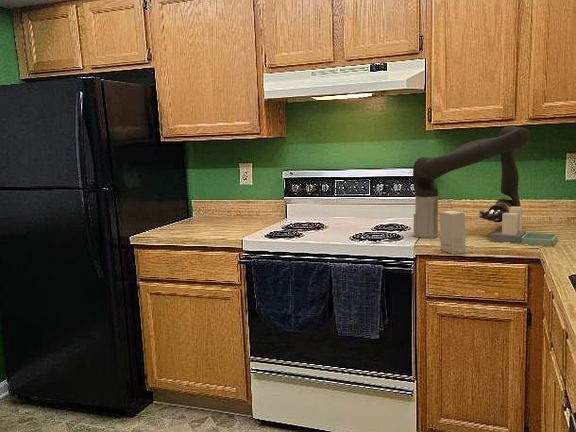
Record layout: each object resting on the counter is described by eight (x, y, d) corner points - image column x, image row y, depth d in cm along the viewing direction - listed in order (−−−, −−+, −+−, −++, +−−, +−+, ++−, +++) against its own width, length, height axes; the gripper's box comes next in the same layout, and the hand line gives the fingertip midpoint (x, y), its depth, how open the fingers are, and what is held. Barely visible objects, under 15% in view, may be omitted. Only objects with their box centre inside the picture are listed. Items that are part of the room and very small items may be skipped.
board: (490, 241, 207) (490, 234, 206) (496, 236, 216) (496, 229, 215) (520, 243, 201) (520, 236, 200) (525, 238, 210) (525, 231, 209)
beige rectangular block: (508, 232, 208) (509, 207, 207) (510, 230, 211) (511, 206, 210) (519, 233, 206) (520, 208, 204) (521, 231, 209) (522, 206, 208)
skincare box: (465, 253, 189) (466, 212, 186) (450, 254, 187) (451, 213, 185) (453, 248, 197) (453, 209, 195) (438, 249, 195) (439, 210, 193)
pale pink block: (501, 234, 205) (502, 214, 204) (504, 232, 208) (504, 212, 207) (515, 235, 202) (516, 214, 201) (517, 233, 206) (518, 213, 205)
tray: (520, 244, 200) (520, 238, 199) (526, 238, 210) (527, 232, 210) (552, 247, 194) (552, 240, 193) (557, 240, 204) (557, 234, 204)
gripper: (483, 202, 223) (472, 208, 209) (516, 204, 216) (508, 209, 202) (483, 220, 225) (472, 226, 210) (516, 221, 217) (507, 228, 203)
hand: (489, 218), depth 206 cm, fingers closed
